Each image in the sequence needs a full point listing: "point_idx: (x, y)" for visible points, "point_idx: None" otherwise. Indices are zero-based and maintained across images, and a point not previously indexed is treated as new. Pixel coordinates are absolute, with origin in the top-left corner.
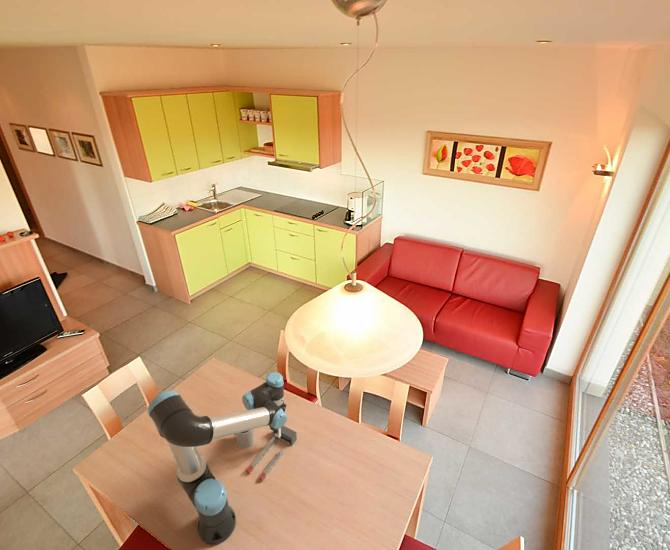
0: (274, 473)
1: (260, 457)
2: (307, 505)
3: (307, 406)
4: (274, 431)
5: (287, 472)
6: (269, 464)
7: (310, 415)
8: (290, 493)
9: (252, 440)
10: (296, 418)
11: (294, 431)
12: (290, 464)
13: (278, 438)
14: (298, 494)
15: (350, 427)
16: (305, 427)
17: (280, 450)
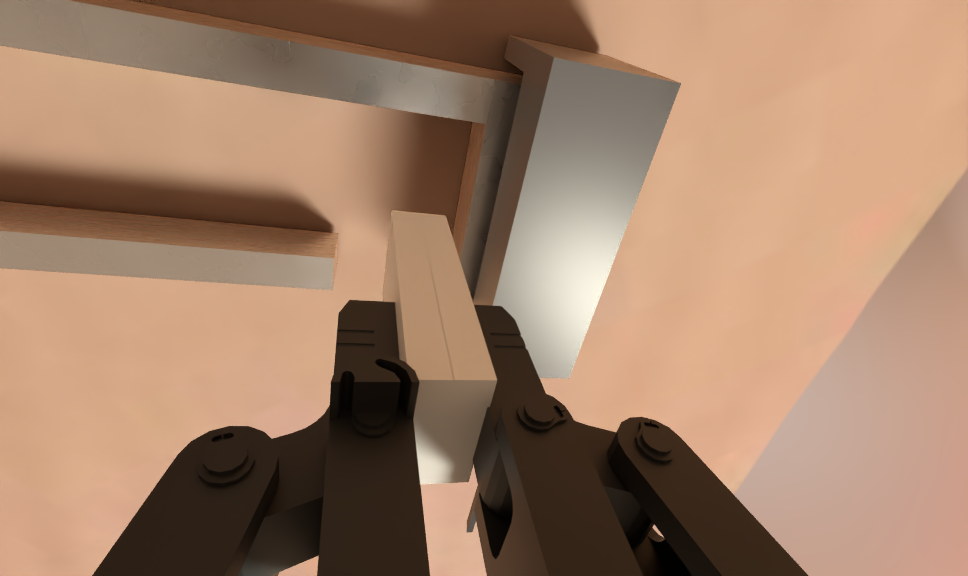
0: (72, 287)
1: (45, 49)
2: (60, 572)
3: (920, 219)
4: (336, 351)
5: (178, 378)
6: (50, 241)
7: (810, 286)
8: (32, 473)
9: None
10: (782, 184)
11: (573, 358)
12: (267, 363)
13: (476, 139)
14: (78, 511)
15: None
16: (678, 304)
17: (313, 264)
